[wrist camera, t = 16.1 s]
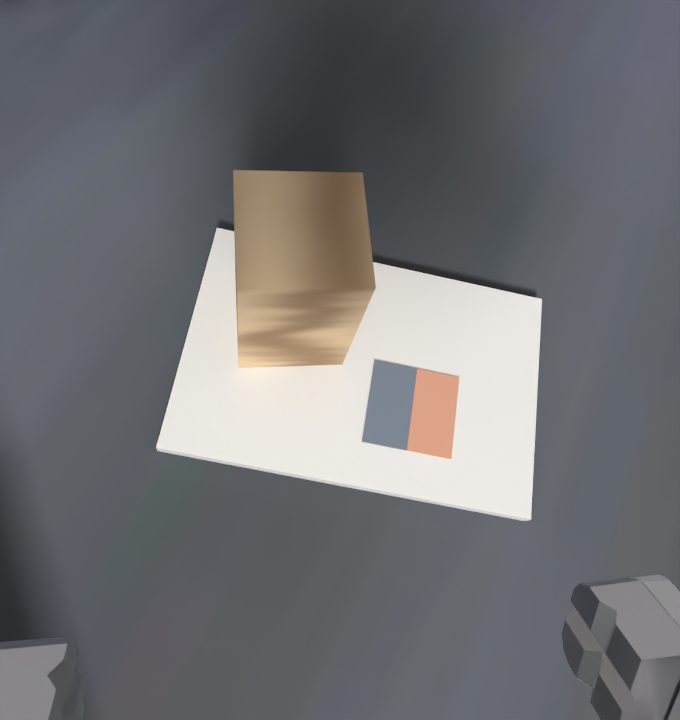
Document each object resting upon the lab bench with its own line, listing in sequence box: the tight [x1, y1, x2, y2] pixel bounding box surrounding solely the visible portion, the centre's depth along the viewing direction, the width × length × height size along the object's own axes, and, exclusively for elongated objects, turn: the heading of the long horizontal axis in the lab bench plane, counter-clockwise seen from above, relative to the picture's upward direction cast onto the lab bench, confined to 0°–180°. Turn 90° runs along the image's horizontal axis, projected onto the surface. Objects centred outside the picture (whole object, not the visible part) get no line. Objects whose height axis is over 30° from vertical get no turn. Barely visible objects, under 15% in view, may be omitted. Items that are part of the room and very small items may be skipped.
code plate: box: [156, 228, 542, 521], centre depth 37 cm, size 21×14×1 cm, turn 80°
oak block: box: [233, 170, 376, 368], centre depth 33 cm, size 6×6×10 cm
